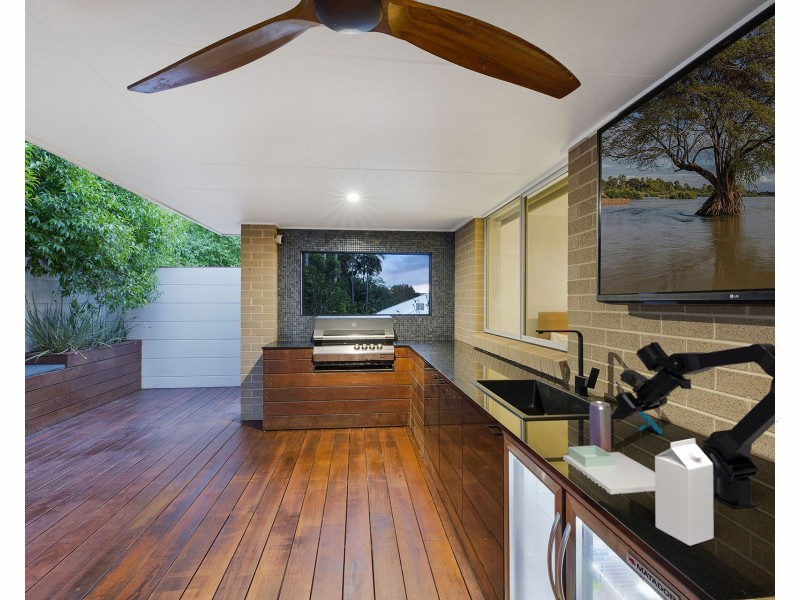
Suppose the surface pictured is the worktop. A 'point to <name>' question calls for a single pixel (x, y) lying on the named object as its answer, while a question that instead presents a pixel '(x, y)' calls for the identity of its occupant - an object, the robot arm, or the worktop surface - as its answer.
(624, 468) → the housing plate
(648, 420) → the blue irregular branched piece
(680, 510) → the milk carton
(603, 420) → the beverage can
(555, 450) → the worktop surface
